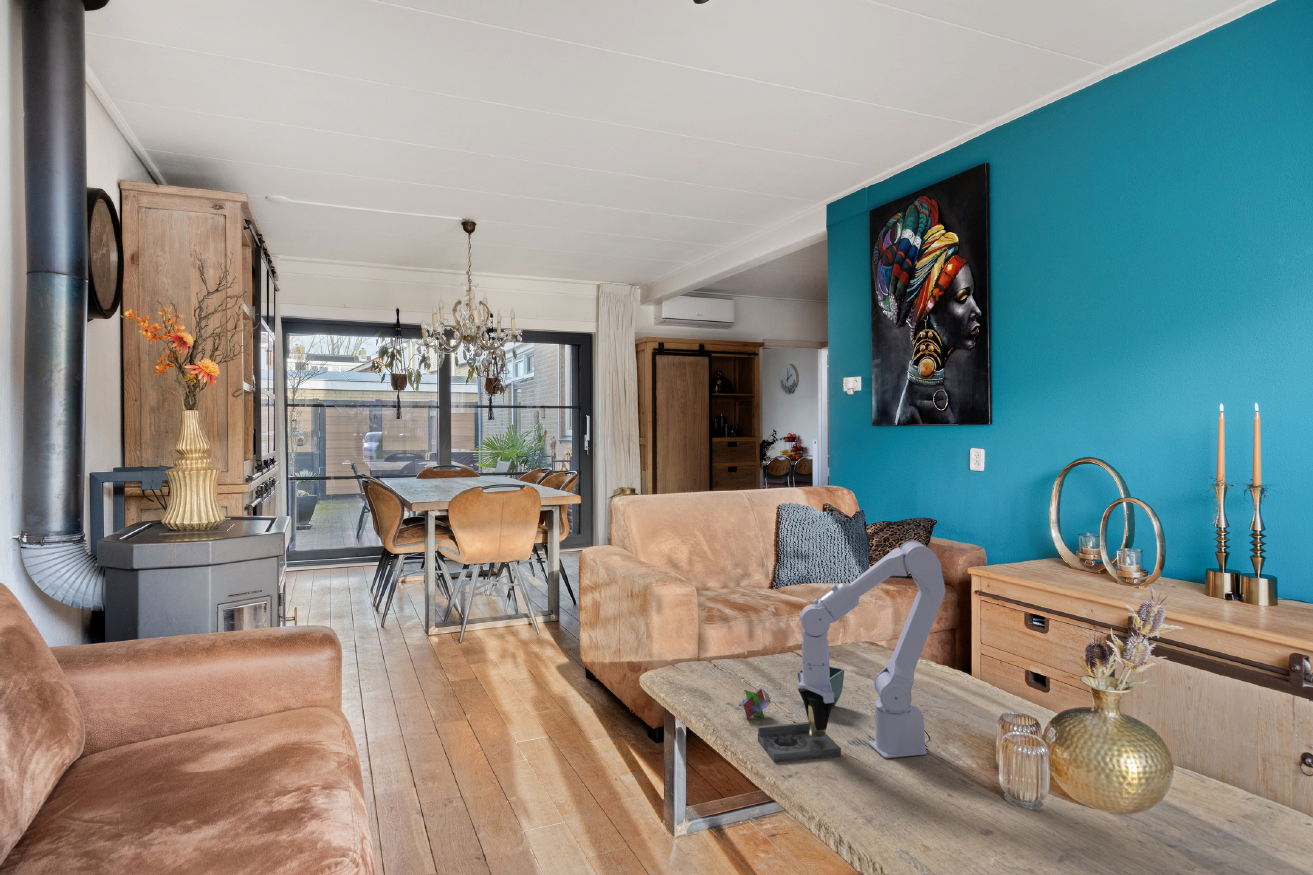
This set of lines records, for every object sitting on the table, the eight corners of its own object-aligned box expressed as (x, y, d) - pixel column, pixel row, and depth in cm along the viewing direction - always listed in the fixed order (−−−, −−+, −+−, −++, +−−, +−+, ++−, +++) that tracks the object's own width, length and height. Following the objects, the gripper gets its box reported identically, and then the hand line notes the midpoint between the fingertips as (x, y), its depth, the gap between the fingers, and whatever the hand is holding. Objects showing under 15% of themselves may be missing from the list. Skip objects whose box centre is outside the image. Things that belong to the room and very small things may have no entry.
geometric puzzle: (749, 717, 171) (763, 685, 174) (728, 709, 176) (742, 678, 179) (767, 730, 174) (780, 698, 178) (745, 721, 180) (758, 690, 183)
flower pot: (831, 716, 177) (830, 678, 177) (797, 708, 182) (796, 671, 182) (845, 705, 184) (845, 668, 184) (812, 698, 189) (812, 662, 189)
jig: (820, 735, 165) (820, 720, 165) (841, 755, 154) (840, 740, 155) (757, 740, 163) (757, 726, 163) (774, 762, 152) (773, 746, 152)
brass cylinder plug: (822, 729, 161) (821, 701, 161) (828, 736, 158) (828, 707, 158) (806, 730, 161) (805, 703, 161) (812, 737, 157) (811, 709, 157)
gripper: (786, 653, 166) (787, 714, 166) (810, 673, 152) (812, 740, 152) (816, 651, 167) (817, 712, 167) (843, 671, 153) (844, 737, 153)
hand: (817, 725), depth 159 cm, fingers closed on brass cylinder plug, 4 cm apart
